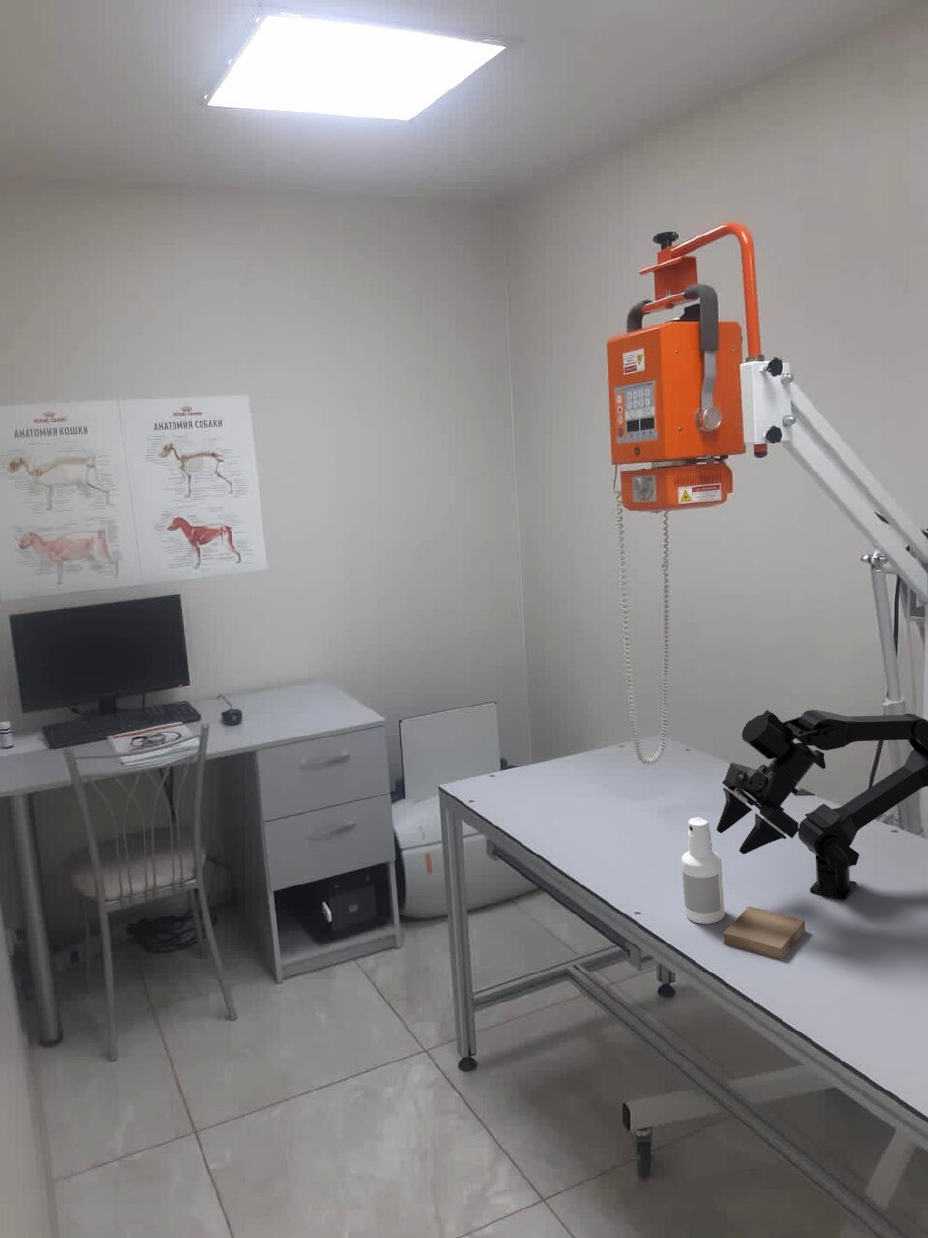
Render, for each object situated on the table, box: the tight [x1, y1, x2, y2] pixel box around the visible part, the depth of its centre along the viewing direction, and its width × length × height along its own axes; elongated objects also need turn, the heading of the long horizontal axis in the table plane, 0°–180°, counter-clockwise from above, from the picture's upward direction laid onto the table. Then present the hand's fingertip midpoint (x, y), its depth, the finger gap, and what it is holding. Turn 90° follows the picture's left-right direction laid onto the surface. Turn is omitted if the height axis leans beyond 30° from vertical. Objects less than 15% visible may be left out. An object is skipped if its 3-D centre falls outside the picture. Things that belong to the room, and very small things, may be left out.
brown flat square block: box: [723, 906, 806, 961], centre depth 165 cm, size 10×10×2 cm
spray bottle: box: [680, 817, 726, 925], centre depth 173 cm, size 7×7×18 cm
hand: (729, 842), depth 173 cm, fingers open, 9 cm apart
